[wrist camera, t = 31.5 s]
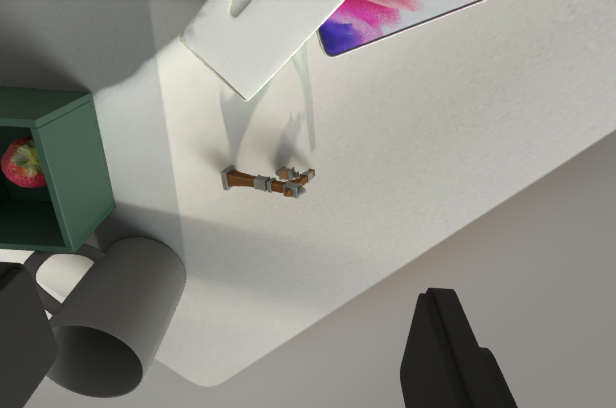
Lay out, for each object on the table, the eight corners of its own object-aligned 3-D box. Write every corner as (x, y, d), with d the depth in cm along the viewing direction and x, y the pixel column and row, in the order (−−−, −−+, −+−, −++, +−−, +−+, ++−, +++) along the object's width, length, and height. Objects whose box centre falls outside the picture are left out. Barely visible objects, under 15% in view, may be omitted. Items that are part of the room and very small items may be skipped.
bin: (-30, 84, 34) (-116, 110, 27) (91, 92, 34) (35, 119, 27) (11, 200, 39) (-52, 246, 33) (115, 207, 39) (74, 253, 33)
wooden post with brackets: (324, 183, 36) (302, 206, 33) (249, 171, 39) (222, 191, 36) (323, 164, 35) (300, 186, 32) (247, 154, 39) (218, 173, 35)
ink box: (268, 67, 32) (243, 109, 22) (220, 19, 31) (170, 41, 20) (348, -19, 29) (364, -18, 19) (301, -78, 28) (289, -111, 17)
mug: (205, 279, 43) (169, 375, 33) (146, 313, 46) (95, 411, 36) (110, 186, 38) (30, 264, 28) (49, 230, 41) (-44, 317, 30)
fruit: (2, 151, 36) (-41, 175, 32) (48, 118, 34) (8, 138, 30) (39, 187, 38) (3, 215, 33) (85, 158, 36) (52, 183, 32)
